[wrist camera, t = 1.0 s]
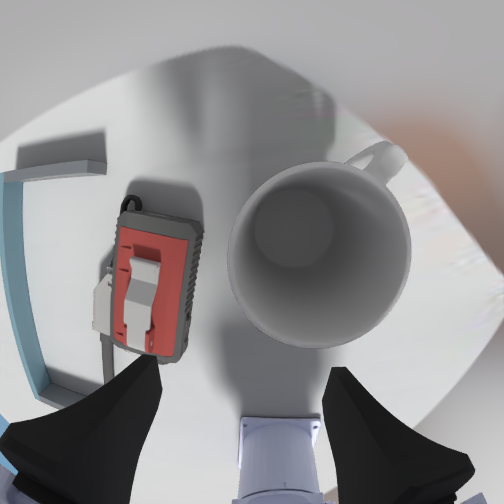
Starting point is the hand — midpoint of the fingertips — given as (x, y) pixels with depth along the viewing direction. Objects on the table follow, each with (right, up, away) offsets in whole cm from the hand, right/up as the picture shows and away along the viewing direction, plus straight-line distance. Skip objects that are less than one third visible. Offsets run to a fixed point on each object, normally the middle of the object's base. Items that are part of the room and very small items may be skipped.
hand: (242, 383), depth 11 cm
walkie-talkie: (-9, 0, +13) cm, 16 cm away
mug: (+4, +8, +10) cm, 14 cm away
